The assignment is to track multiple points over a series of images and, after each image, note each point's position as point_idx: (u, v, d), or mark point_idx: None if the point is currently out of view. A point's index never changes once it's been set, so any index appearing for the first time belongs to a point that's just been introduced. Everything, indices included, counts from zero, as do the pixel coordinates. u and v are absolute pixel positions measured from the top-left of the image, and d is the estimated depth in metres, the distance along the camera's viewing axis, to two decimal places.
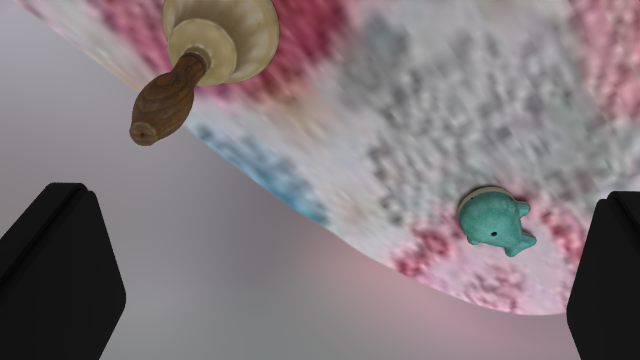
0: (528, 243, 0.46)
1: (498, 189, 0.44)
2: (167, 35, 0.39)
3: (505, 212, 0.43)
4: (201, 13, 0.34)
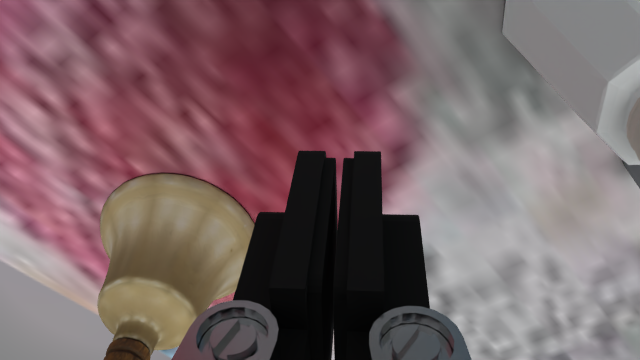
0: None
1: None
2: (107, 252, 0.29)
3: None
4: (144, 263, 0.24)
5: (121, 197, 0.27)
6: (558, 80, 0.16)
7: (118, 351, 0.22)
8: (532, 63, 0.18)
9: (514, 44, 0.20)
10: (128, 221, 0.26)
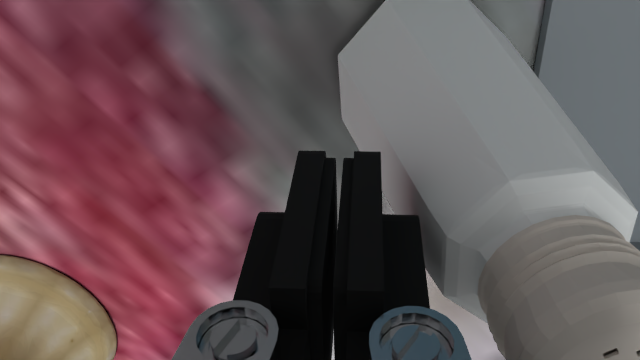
0: None
1: None
2: None
3: None
4: None
5: None
6: (397, 204, 0.12)
7: None
8: None
9: (353, 138, 0.16)
10: None
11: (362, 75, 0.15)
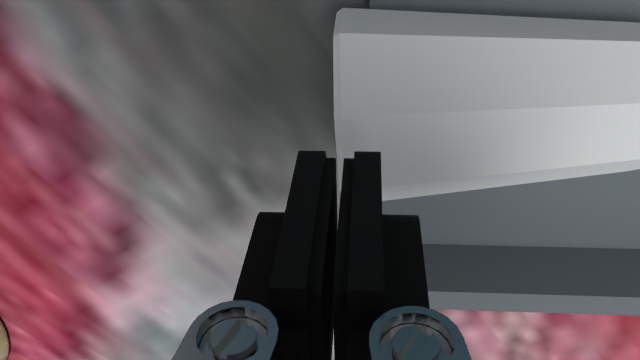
0: None
1: None
2: None
3: None
4: None
5: None
6: (574, 154, 0.14)
7: None
8: (484, 173, 0.14)
9: (405, 182, 0.14)
10: None
11: (427, 100, 0.13)
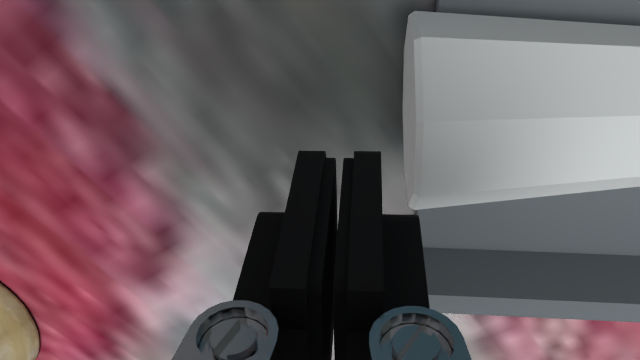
0: None
1: None
2: None
3: None
4: None
5: None
6: None
7: None
8: (561, 181, 0.14)
9: (482, 189, 0.14)
10: None
11: (511, 106, 0.13)
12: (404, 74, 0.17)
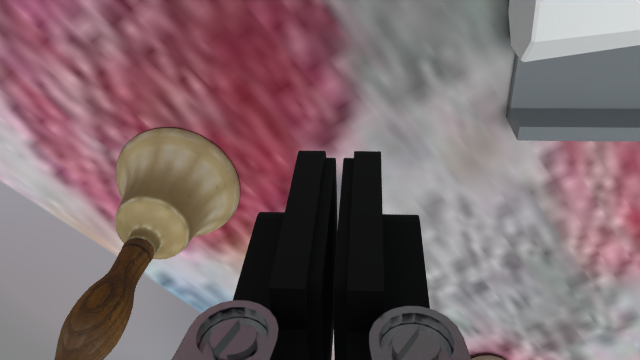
0: None
1: None
2: (121, 192, 0.37)
3: None
4: (151, 188, 0.32)
5: (133, 146, 0.35)
6: None
7: (131, 245, 0.30)
8: (612, 31, 0.25)
9: (569, 36, 0.25)
10: (138, 162, 0.34)
11: None
12: None
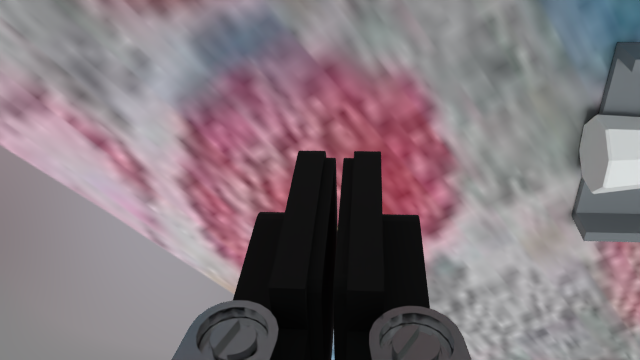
0: None
1: None
2: None
3: None
4: None
5: None
6: None
7: None
8: None
9: (629, 184, 0.36)
10: None
11: None
12: (584, 136, 0.39)
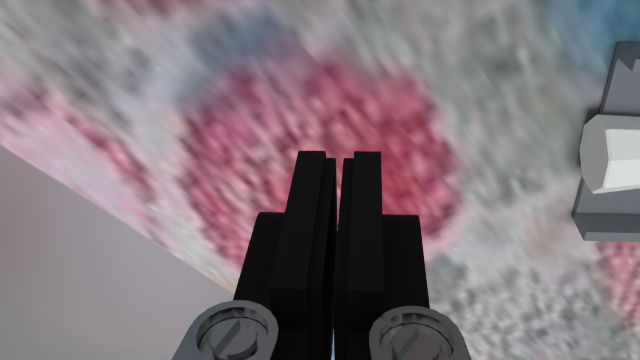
0: None
1: None
2: None
3: None
4: None
5: None
6: None
7: None
8: None
9: (629, 184, 0.36)
10: None
11: None
12: (584, 136, 0.39)
